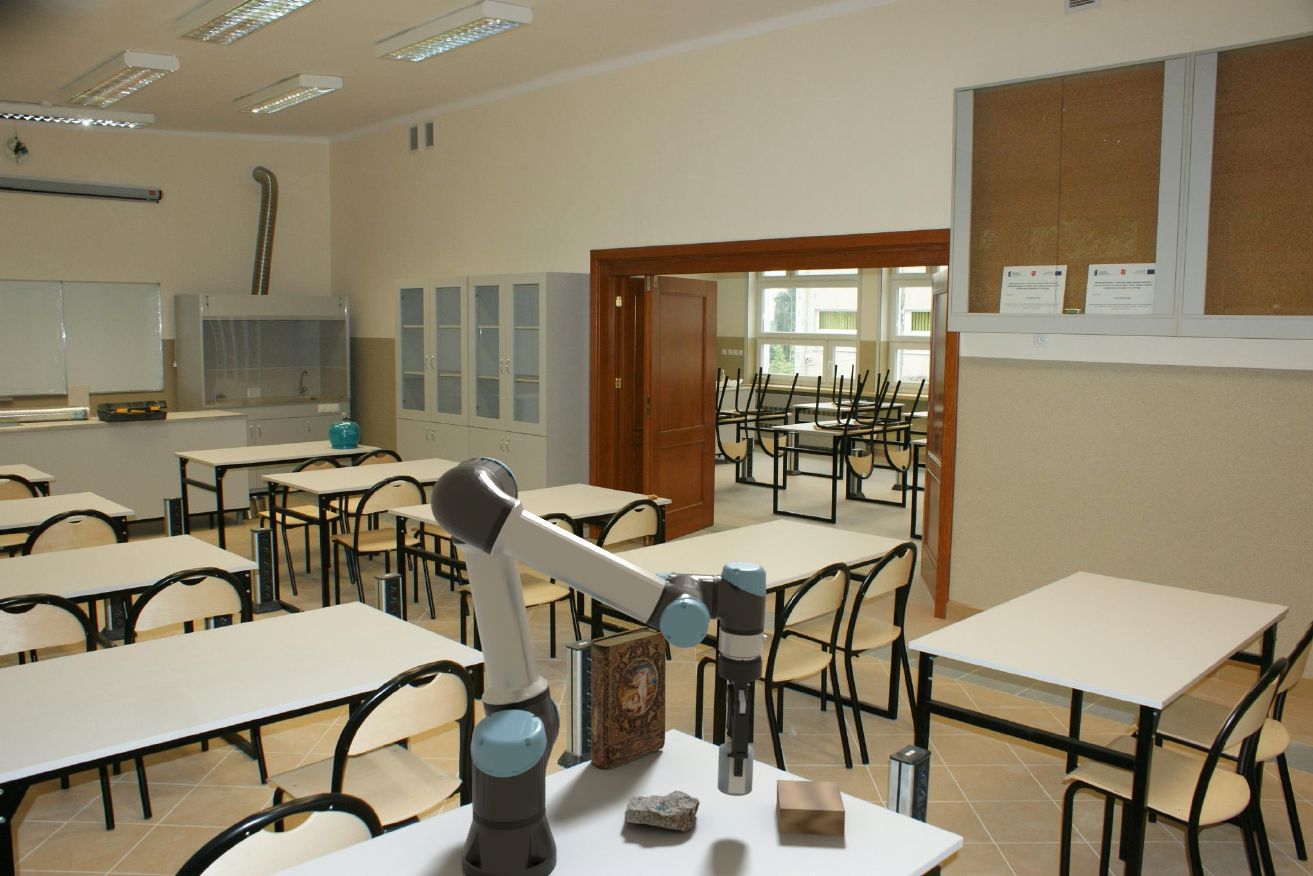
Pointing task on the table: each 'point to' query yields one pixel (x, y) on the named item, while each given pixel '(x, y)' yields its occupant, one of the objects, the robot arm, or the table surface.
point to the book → (627, 696)
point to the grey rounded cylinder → (724, 770)
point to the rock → (663, 810)
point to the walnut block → (810, 808)
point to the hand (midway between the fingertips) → (734, 783)
